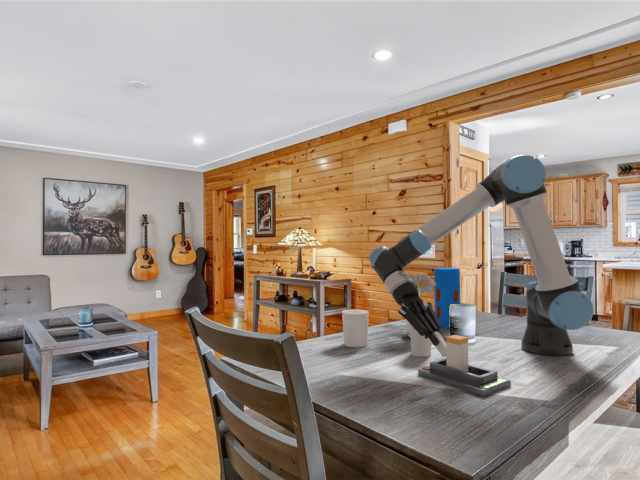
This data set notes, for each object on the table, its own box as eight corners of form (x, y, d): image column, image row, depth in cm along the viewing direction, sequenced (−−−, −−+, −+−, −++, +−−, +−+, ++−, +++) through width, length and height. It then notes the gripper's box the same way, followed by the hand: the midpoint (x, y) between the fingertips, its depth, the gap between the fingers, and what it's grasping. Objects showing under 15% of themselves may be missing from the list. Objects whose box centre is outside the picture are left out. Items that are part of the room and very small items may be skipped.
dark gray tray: (418, 374, 112) (418, 362, 112) (445, 366, 119) (445, 354, 119) (483, 396, 96) (483, 382, 96) (510, 385, 103) (510, 372, 103)
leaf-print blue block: (447, 329, 170) (446, 269, 170) (429, 324, 180) (428, 268, 180) (466, 326, 175) (465, 268, 175) (447, 322, 185) (447, 267, 185)
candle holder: (338, 346, 144) (338, 313, 144) (347, 340, 153) (346, 308, 153) (365, 349, 140) (364, 314, 140) (372, 342, 149) (371, 310, 149)
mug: (423, 358, 128) (423, 320, 128) (406, 354, 133) (405, 318, 133) (441, 352, 134) (440, 316, 134) (424, 349, 139) (423, 314, 139)
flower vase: (440, 333, 162) (439, 271, 162) (424, 343, 146) (423, 274, 146) (409, 330, 169) (408, 270, 169) (390, 339, 154) (390, 273, 154)
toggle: (446, 371, 110) (446, 336, 110) (455, 368, 112) (455, 334, 112) (459, 375, 106) (458, 339, 106) (468, 372, 109) (467, 337, 109)
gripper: (392, 282, 120) (439, 350, 106) (422, 279, 127) (469, 342, 113) (380, 298, 124) (424, 365, 110) (409, 294, 131) (454, 357, 118)
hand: (447, 353), depth 112 cm, fingers closed
